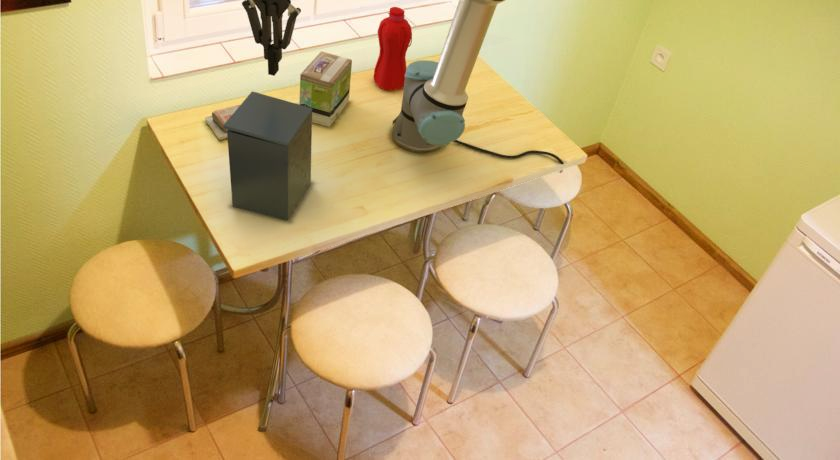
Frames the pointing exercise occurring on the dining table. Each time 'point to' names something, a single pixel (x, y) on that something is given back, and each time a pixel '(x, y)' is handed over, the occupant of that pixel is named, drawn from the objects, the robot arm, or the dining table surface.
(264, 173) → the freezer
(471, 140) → the dining table surface
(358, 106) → the dining table surface
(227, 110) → the packaged product
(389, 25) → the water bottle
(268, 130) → the dark grey box lid
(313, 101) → the tea box
